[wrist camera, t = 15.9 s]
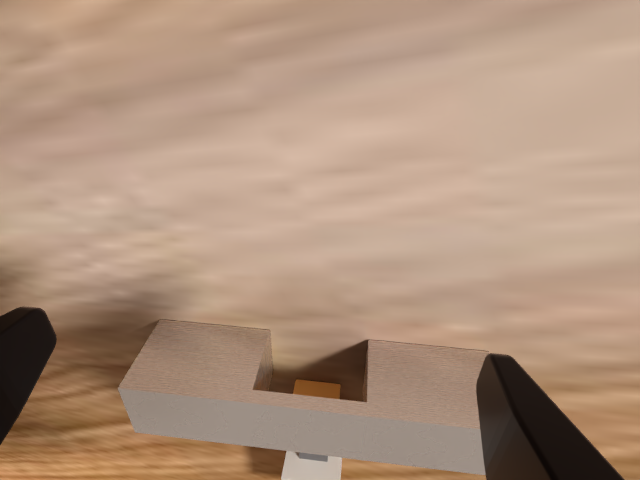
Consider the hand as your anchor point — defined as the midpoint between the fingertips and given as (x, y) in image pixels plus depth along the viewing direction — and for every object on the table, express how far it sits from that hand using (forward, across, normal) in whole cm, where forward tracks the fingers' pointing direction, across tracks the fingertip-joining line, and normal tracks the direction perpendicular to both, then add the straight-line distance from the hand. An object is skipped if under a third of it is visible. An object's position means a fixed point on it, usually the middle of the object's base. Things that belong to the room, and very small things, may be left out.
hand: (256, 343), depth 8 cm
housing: (+12, 0, +14) cm, 19 cm away
